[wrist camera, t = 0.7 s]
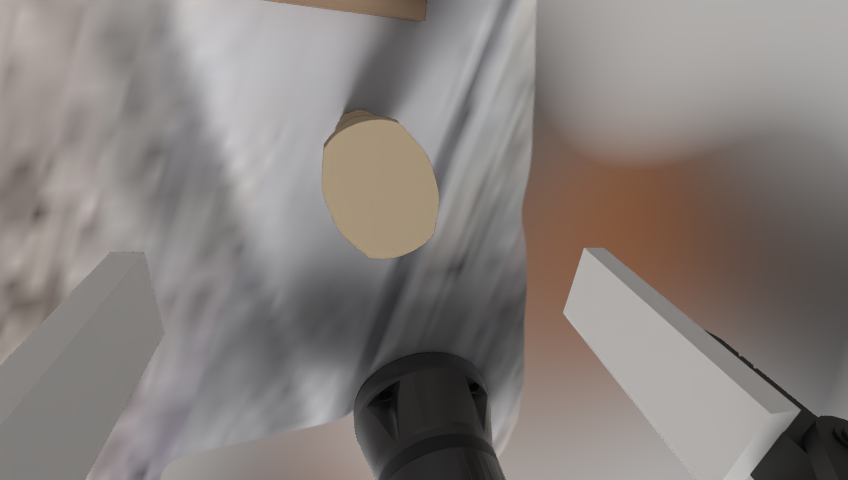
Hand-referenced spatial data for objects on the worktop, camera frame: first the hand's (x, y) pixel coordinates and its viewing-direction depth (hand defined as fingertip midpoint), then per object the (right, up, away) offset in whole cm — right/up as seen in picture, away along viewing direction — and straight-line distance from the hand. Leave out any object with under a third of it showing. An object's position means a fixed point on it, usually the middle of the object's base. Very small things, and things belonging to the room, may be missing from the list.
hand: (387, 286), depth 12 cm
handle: (-4, +10, +18) cm, 21 cm away
